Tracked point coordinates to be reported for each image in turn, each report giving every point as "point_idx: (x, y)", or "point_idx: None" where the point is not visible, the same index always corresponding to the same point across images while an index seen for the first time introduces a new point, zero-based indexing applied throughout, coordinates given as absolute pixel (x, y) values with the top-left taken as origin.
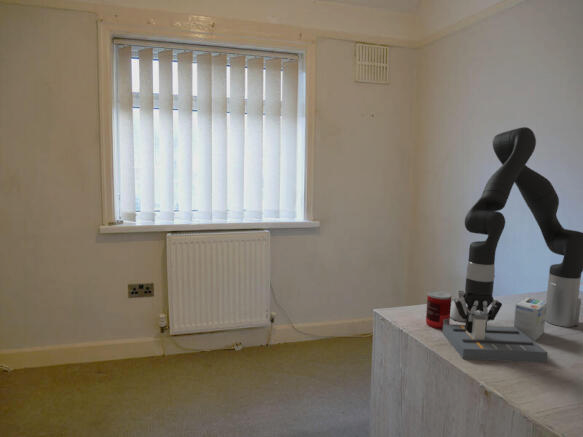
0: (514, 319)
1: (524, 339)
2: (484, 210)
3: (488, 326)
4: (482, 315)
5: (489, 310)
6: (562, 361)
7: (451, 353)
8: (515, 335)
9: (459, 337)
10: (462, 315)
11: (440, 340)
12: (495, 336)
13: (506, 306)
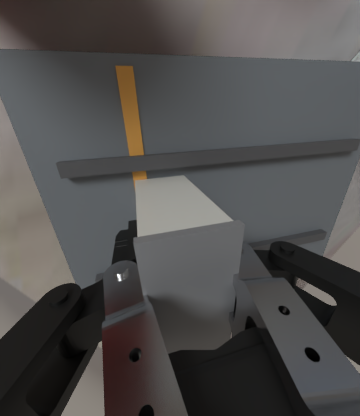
0: None
1: (325, 202)
2: None
3: (281, 69)
4: (230, 308)
5: (328, 284)
6: (330, 236)
7: (65, 276)
8: (322, 172)
9: (89, 247)
10: (56, 370)
11: (17, 180)
12: (246, 199)
13: None
